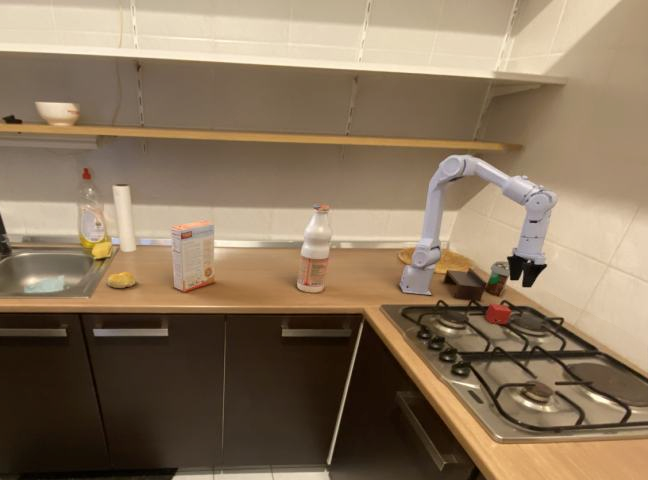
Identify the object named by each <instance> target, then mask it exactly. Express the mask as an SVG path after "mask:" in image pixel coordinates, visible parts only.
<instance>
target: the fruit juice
mask: <svg viewBox="0 0 648 480" xmlns="http://www.w3.org/2000/svg"><path fill="white" fill-rule="evenodd" d="M329 212H330V206H329V205H327V204H314V205H313V214H312V217H311V219H310V220H309V223H308V224H307V226H306V227H305V228H304V232H303V240H304V241H303V244H302V246H301V251H300V259H299V264H298V265H299V266H298V274H297V282H296V288H297V289H298V290H300V291H302V292H304V293H310V294H311V293H313V294H315V293H320V292H322V291H323V290H324V288H325V282H326V278H327V277H326V276H327V269H328V264H329V257H330V250H331V248H330V242H331V240H332V237H333V231H332V229H331V226H330V220H329Z"/></svg>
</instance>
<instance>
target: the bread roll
mask: <svg viewBox="0 0 648 480" xmlns="http://www.w3.org/2000/svg"><path fill="white" fill-rule="evenodd" d="M107 284H108V286H109V287H111V288H114V289H125V288H126V287H127V288H130V287H133V286H134V285H135V284H136V281H135V276H134V275H133V274H132V273H131V272H128V271H122V272H120V273H112V274H110V275H109V277H108V278H107Z"/></svg>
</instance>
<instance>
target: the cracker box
mask: <svg viewBox="0 0 648 480" xmlns="http://www.w3.org/2000/svg"><path fill="white" fill-rule="evenodd" d="M170 239H171V241H170V242H171V255H172V256H171V257H172V272H173V273H172V274H173V288H174V289H175V290H178V291H181V292H183V293H186V292H189V291H192V290H195V289H198V288H201V287H204V286H208V285H211V284H214V283H215V223H214V222H213V223H212V222H209V221H207V220H201V221H195V222H194V221H193V222H190V223H183V224H178V225H173V226H170Z"/></svg>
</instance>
